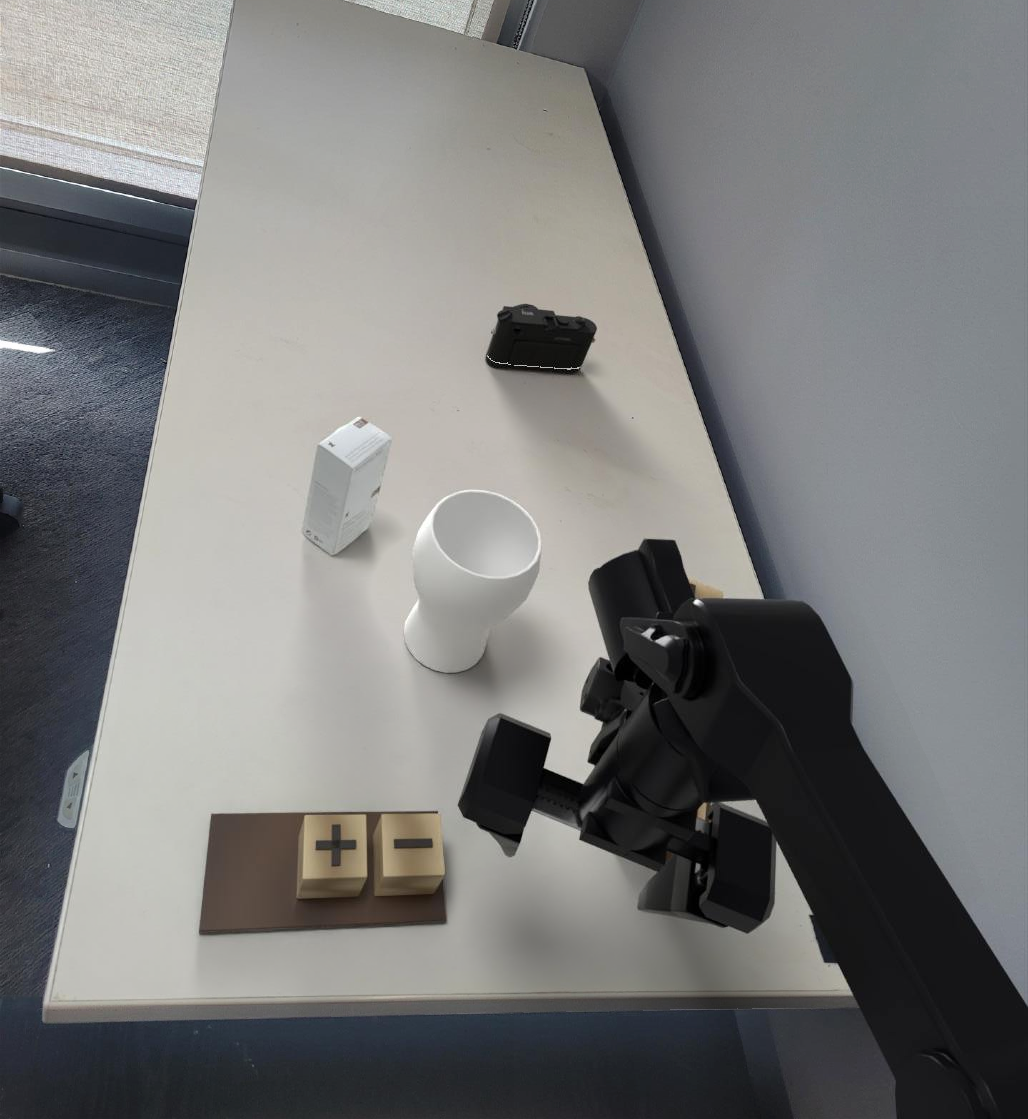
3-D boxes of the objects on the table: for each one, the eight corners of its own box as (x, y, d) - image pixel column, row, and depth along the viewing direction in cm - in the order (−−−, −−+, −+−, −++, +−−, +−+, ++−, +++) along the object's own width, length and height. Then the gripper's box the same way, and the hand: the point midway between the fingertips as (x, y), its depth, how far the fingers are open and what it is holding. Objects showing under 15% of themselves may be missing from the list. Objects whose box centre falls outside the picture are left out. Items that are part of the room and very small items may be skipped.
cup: (462, 576, 90) (503, 471, 80) (521, 662, 84) (573, 561, 74) (367, 610, 83) (399, 502, 74) (424, 705, 78) (466, 602, 68)
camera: (572, 343, 124) (591, 296, 119) (586, 378, 119) (607, 330, 114) (472, 334, 119) (488, 285, 114) (483, 370, 114) (501, 320, 109)
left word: (436, 813, 72) (449, 788, 69) (444, 922, 66) (459, 900, 63) (210, 816, 67) (214, 788, 64) (198, 934, 61) (202, 909, 58)
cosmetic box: (333, 558, 87) (354, 471, 79) (297, 532, 88) (314, 444, 80) (373, 524, 91) (396, 438, 83) (339, 499, 92) (359, 413, 84)
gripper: (825, 702, 55) (718, 817, 65) (540, 587, 56) (477, 719, 66) (828, 879, 47) (704, 980, 57) (491, 741, 47) (427, 866, 57)
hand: (575, 875), depth 59 cm, fingers open, 9 cm apart
